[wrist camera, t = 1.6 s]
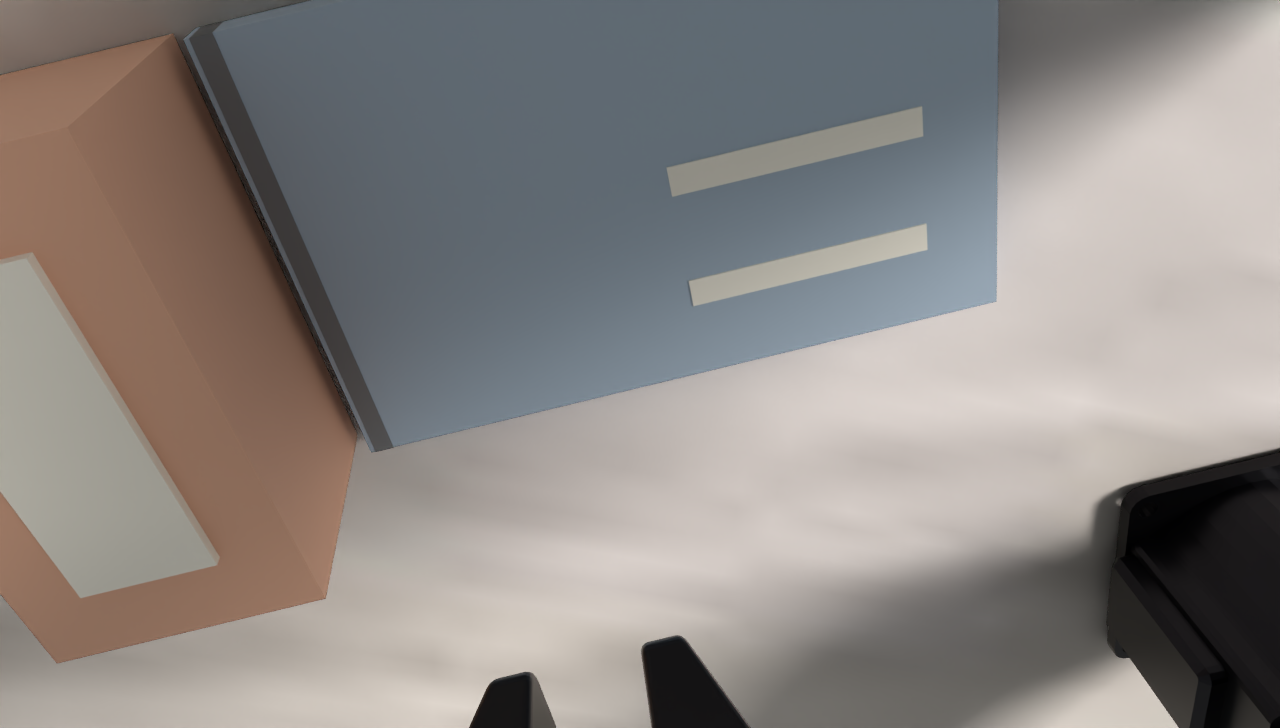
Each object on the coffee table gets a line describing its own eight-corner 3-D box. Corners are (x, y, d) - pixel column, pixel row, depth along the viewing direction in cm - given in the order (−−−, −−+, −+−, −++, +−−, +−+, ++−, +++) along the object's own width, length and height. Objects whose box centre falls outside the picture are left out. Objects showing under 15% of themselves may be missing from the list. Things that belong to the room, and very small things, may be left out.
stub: (172, 33, 17) (61, 131, 12) (357, 434, 22) (324, 606, 17) (-108, 101, 17) (-318, 223, 12) (140, 486, 22) (53, 672, 17)
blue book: (978, -161, 17) (1000, -157, 16) (980, 284, 22) (997, 302, 21) (195, 28, 17) (182, 40, 16) (374, 430, 22) (370, 453, 21)
